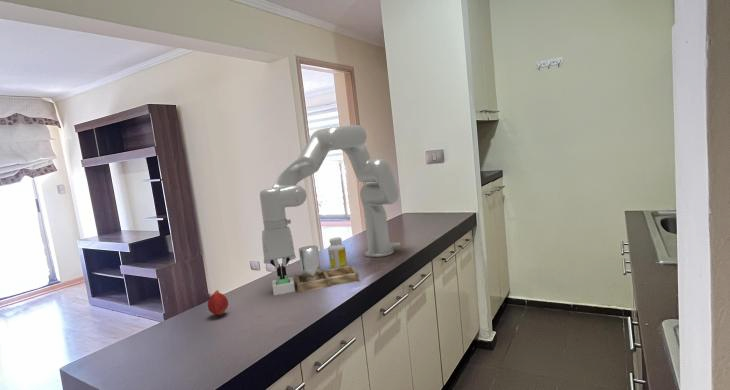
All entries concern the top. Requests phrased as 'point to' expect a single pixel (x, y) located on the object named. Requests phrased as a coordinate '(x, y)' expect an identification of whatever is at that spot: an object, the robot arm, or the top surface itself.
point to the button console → (283, 287)
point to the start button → (282, 280)
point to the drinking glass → (310, 263)
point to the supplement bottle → (337, 253)
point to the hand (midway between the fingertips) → (282, 277)
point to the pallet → (329, 279)
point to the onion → (217, 303)
